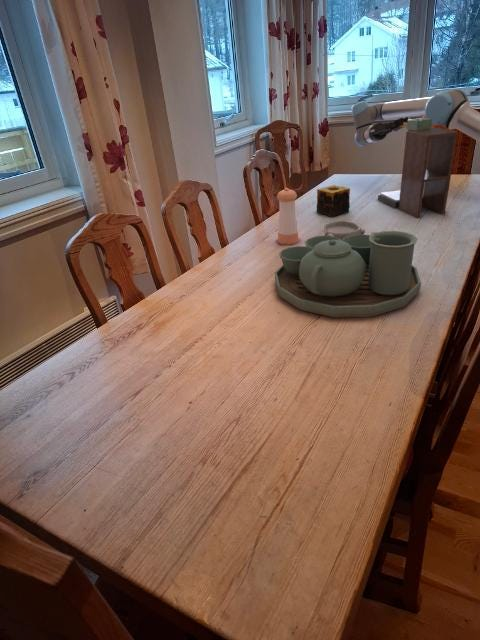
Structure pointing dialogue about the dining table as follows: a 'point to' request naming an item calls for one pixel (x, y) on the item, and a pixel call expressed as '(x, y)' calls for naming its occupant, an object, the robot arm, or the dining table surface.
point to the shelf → (433, 176)
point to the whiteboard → (390, 198)
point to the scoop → (417, 124)
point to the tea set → (350, 274)
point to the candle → (333, 200)
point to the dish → (342, 229)
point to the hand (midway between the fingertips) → (404, 121)
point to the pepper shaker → (287, 217)
